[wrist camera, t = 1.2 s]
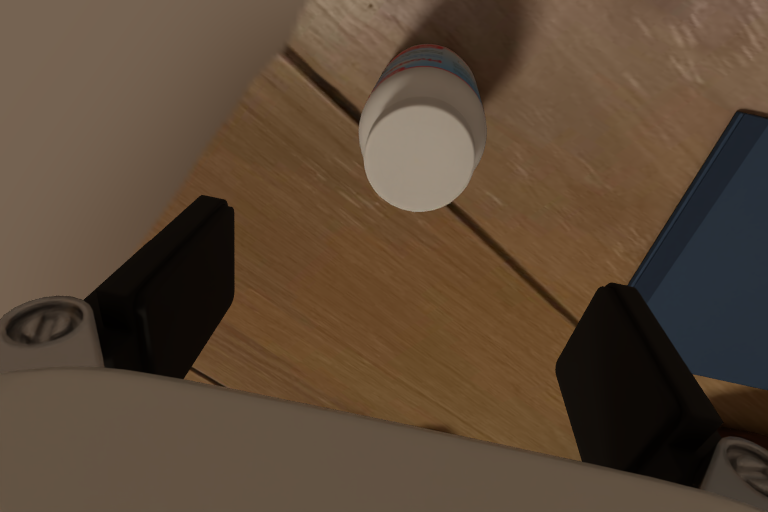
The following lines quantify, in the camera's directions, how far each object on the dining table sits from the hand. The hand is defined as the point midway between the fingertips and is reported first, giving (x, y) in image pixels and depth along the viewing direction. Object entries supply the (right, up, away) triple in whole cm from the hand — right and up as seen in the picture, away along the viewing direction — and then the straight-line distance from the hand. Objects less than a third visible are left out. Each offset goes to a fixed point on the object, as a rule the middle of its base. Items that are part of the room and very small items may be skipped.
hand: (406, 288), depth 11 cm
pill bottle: (+2, +11, +16) cm, 20 cm away
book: (+26, 0, +20) cm, 33 cm away
